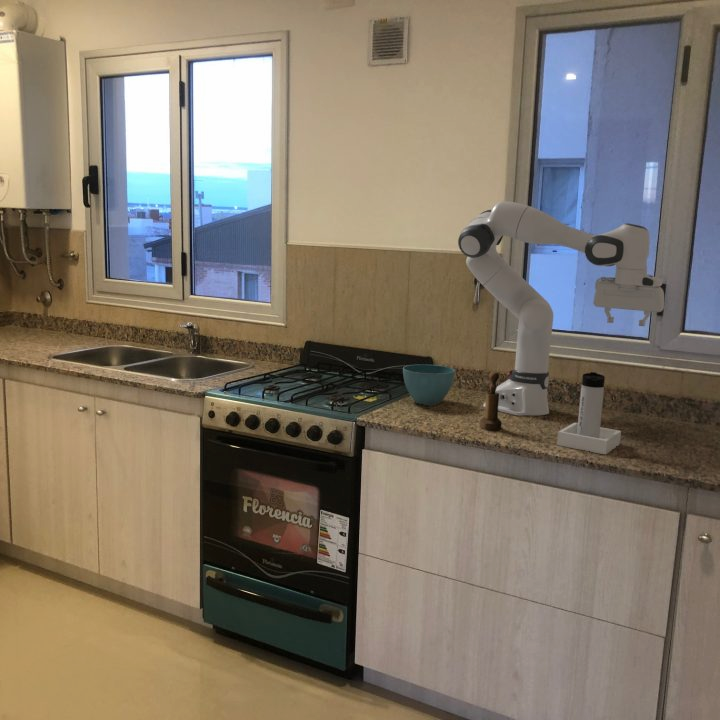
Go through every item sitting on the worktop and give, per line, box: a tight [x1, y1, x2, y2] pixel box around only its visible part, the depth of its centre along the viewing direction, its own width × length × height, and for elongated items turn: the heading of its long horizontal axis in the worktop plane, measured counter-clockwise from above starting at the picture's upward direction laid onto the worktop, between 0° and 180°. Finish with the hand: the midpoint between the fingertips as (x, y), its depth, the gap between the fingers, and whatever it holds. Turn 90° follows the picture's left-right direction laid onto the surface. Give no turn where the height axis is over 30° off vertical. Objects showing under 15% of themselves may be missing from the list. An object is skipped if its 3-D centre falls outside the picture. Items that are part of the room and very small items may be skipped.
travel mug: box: [577, 371, 606, 438], centre depth 214 cm, size 6×7×20 cm
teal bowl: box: [402, 364, 456, 406], centre depth 261 cm, size 18×18×12 cm
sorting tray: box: [556, 422, 622, 456], centre depth 216 cm, size 14×14×4 cm
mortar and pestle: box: [479, 370, 502, 431], centre depth 229 cm, size 7×6×18 cm
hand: (625, 324), depth 225 cm, fingers open, 8 cm apart
